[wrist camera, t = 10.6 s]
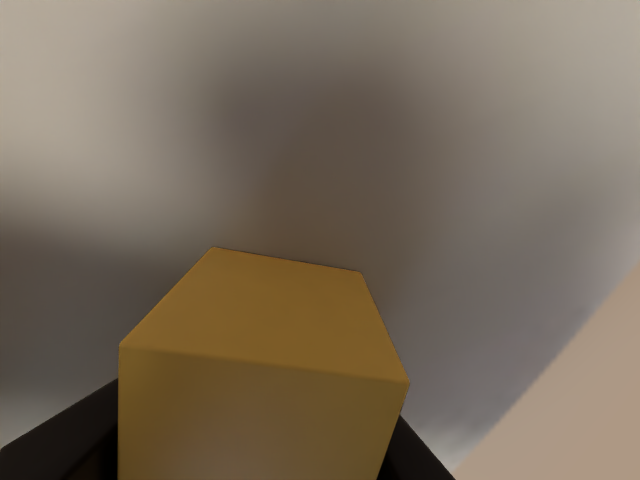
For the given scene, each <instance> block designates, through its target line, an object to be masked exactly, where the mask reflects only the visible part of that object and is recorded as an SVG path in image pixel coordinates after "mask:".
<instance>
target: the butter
mask: <svg viewBox="0 0 640 480" xmlns="http://www.w3.org/2000/svg"><path fill="white" fill-rule="evenodd" d="M409 384H410V382H409V379H408V377H407V374H406V372H405V370H404V368H403V365H402V363H401V361H400V359H399V357H398V354H397V352H396V350H395V348H394V345H393V343H392V341H391V339H390V336H389V334H388V332H387V330H386V328H385V325H384V323H383V321H382V319H381V316H380V314H379V312H378V310H377V308H376V305H375V303H374V301H373V299H372V296H371V294H370V292H369V290H368V287H367V285H366V283H365V281H364V279H363V276H362V274H361V273H360V272H356V271H351V270H345V269H339V268H333V267H327V266H321V265H315V264H310V263H304V262H298V261H292V260H286V259H280V258H274V257H268V256H263V255H257V254H251V253H245V252H239V251H233V250H227V249H221V248H216V247H211V248H210V249H209V250H208V251H207V252H206V253H205V254H204V255H203V256H202V257H201V259H200V260H199V261H198V262H197V263H196V264H195V265H194V266H193V267H192V268H191V269H190V270H189V271H188V272H187V273H186V274H185V275H184V276H183V277H182V278H181V279H180V281H179V282H178V283H177V284H176V285H175V286H174V287H173V288H172V289H171V290H170V291H169V292H168V293H167V294H166V295H165V296H164V297H163V298H162V299H161V300H160V301H159V302H158V304H157V305H156V306H155V307H154V308H153V309H152V310H151V311H150V312H149V313H148V314H147V315H146V316H145V317H144V318H143V319H142V320H141V321H140V322H139V323H138V324H137V325H136V327H135V328H134V329H133V330H132V331H131V332H130V333H129V334H128V335H127V336H126V337H125V338H124V339H123V340H122V341H121V342H120V344H119V368H118V477H117V480H376V479H377V476H378V473H379V470H380V468H381V465H382V462H383V459H384V456H385V453H386V451H387V448H388V445H389V442H390V439H391V436H392V433H393V431H394V428H395V425H396V422H397V419H398V416H399V414H400V411H401V408H402V405H403V402H404V399H405V397H406V394H407V391H408V388H409Z"/></svg>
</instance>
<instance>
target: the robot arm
mask: <svg viewBox="0 0 640 480" xmlns="http://www.w3.org/2000/svg"><path fill="white" fill-rule="evenodd" d="M117 477H118V378H117V379H115V380H113V381H112V382H110V383H108V384H107V385H105V386H104V387H102V388H100V389H99V390H97V391H95V392H94V393H92V394H90V395H89V396H87V397H85V398H84V399H82V400H80V401H79V402H77V403H75V404H74V405H72V406H70V407H69V408H67V409H65V410H64V411H62V412H60V413H59V414H57V415H55V416H54V417H52V418H50V419H49V420H47V421H45V422H44V423H42V424H40V425H39V426H37V427H35V428H34V429H32V430H30V431H29V432H27V433H26V434H24V435H22V436H21V437H19V438H17V439H16V440H14V441H12V442H11V443H9V444H7V445H6V446H4V447H2V449H1V450H0V480H117ZM376 480H455V478H454V477H453V476H452V475H451V474H450V473H449V471H448V470H447V469H446V468H445V467H444V466H443V464H442V463H441V462H440V461H439V460H438V459H437V457H436V456H435V455H434V454H433V453H432V452H431V450H430V449H429V448H428V447H427V446H426V445H425V443H424V442H423V441H422V440H421V439H420V437H419V436H418V435H417V434H416V433H415V432H414V430H413V429H412V428H411V427H410V426H409V425H408V423H407V422H406V421H405V420H404V419H403V418H402V416H401V415H400V414H399V416H398V419H397V422H396V425H395V428H394V431H393V433H392V436H391V439H390V442H389V445H388V448H387V451H386V453H385V456H384V459H383V462H382V465H381V468H380V470H379V473H378V476H377V479H376Z"/></svg>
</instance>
